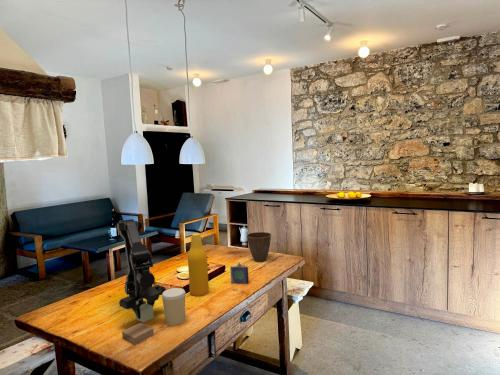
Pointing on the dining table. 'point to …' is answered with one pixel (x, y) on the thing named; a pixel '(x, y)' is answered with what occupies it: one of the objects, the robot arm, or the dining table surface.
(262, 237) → the plant pot
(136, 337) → the base
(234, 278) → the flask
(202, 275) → the beer bottle
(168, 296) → the coffee cup
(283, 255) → the dining table surface
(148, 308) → the cube
